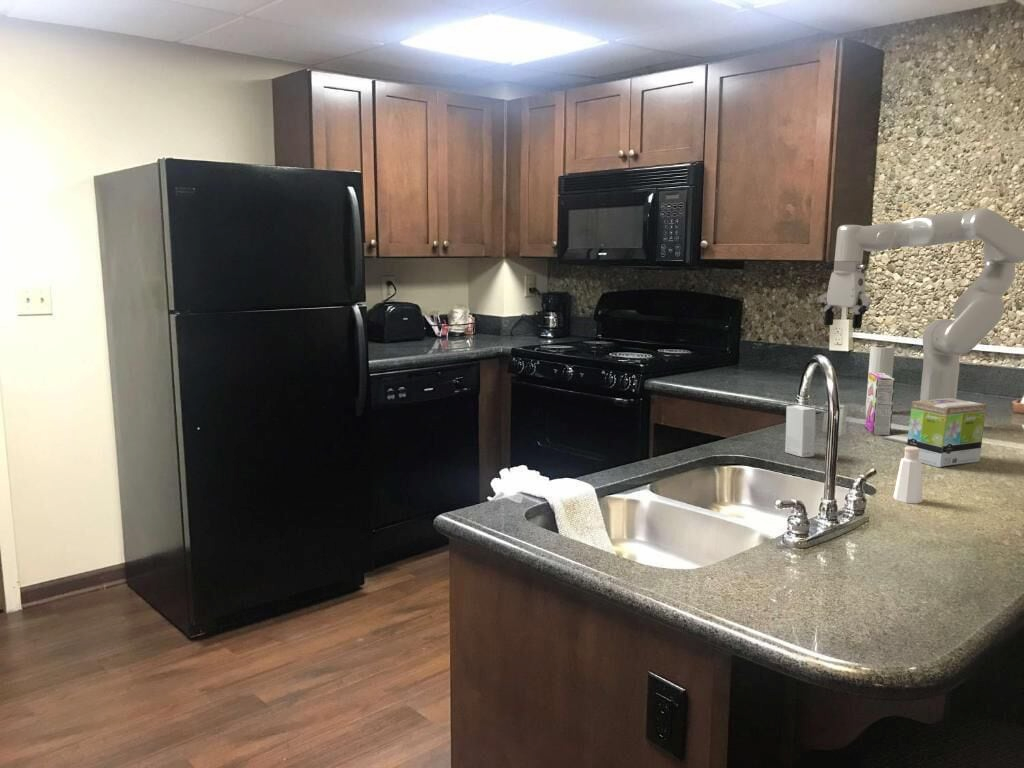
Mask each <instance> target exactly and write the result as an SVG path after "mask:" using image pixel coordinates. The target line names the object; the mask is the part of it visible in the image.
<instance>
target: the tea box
mask: <svg viewBox="0 0 1024 768" xmlns="http://www.w3.org/2000/svg"><path fill="white" fill-rule="evenodd" d="M986 413H987V404H985V403H981V402H976V401H975V402H974V401H968V400H963V399H958V398H956V399H953V398H946V399H934V400H922V401H920V400H913V401H912V402H911V409H910V416H909V422H908V423H909V425H908V431H907V433H908V441H907V444H906V447H907V446H912V447H917V448H919V449H920V451H919V456H918V457H919V458H918V459H919V460H920V461H921V464H924V465H929V466H932V467H935V468H937V467H938V468H942V467H943V468H944V467H948V466H954V465H964V464H972V463H979V462H980V460H981V452H982V444H983V437H984V436H983V435H984V429H985V420H986Z"/></svg>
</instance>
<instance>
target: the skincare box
mask: <svg viewBox="0 0 1024 768" xmlns="http://www.w3.org/2000/svg"><path fill="white" fill-rule="evenodd" d="M785 409H786V410H785V411H786V412H785V414H786V415H785V416H786V417H785V421H786V422H785V446H784V449H785V450H784V451H785V454H786V453H787V454H790V455H794V456H797V457H799V458H800V457H801V458H810V457H814V456H815V441H816V440H815V439H816V438H815V437H816V414H817V413H816V412H817V411H816V408H813V407H808V406H804V405H798V404H796V405H789V406H786V408H785Z"/></svg>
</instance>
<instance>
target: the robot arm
mask: <svg viewBox="0 0 1024 768" xmlns="http://www.w3.org/2000/svg"><path fill="white" fill-rule="evenodd" d="M973 240H976V241H977V240H978V241H979V240H980V241H981V242H982V243H983V246H982V247H983V248H982V254H983V255H982V256H983V259H984V267H983V269H982V272H981V273H980V274H979V276H978V277H977V278H976V279H975V281H973V282H972V284H970V285H969V286H968V288H967V289H966V290H964V292H963V293H962V294H961V295H960V296H958V298H956V300H955V302H954V303H953V306H952V314H953V316H954V317H955V318H954V319H953V320H952V319H947V318H940V319H939V318H938V319H935V320H933V321H930V323H928V324H927V326H925V328H924V330H923V334H922V351H923V362H922V372H921V383H920V395H919V401H922V400H934V399H946V398H953V399H957V393H958V382H959V375H960V356H961V355H965V354H968V353H969V352H971V351H972V350H973V349H975V347H976V346H978V345H979V343H980V342H982V341H983V340H984V339H985V338H986V336H987V335H988V334H990V332H991V331H992V330H993V329H994V328H995V327H996V326H997V325H998V324H999V322H1000V321H1001V320H1002V318H1003V316H1004V313H1005V303H1004V300H1003V299H1002V298H1003V297H1004V296H1005V294H1006V293H1007V292H1008V291H1009V289H1011V288H1012V286H1013V284H1014V281H1015V276H1016V264H1020V263H1022V262H1023V263H1024V230H1023V229H1021V228H1020V227H1018V226H1017V225H1015V224H1014V223H1012V222H1011V221H1010V220H1009V219H1008V218H1005V217H1004V216H1003V215H1001V214H1000V213H998V212H996V211H994V210H992V209H989V208H979V209H969V210H962V211H961V210H960V211H955V212H954V211H953V212H949V213H940V214H933V215H926V216H919V217H915V218H912V219H907V220H901V221H895V222H889V223H888V222H887V223H882V224H874V225H873V224H871V225H859V224H842V225H840V226H838V228H837V231H836V240H835V241H836V242H835V250H834V251H835V252H834V253H835V255H834V264H833V271H832V272H831V274H830V277H829V278H830V279H829V281H828V282H829V283H828V286H827V287H828V288H827V291H826V292H825V293H823V294H821V295H819V297H818V299H819V302H820V306H821V307H822V309H823V312H824V321H823V325H824V326H833V325H834V318H835V316H834V315H835V312H834V309H836V307H840V308H852V310H853V312H854V314H852V326H851V327H852V328H853V329H861V328H862V325H863V315H865V314H866V312H867V311H868V310H869V309H870V306H871V305H872V302H873V299H871V298H870V297H869V296H867V295H866V279H865V274H864V273H863V272H862V270H864V269H865V268H866V265H865V264H863V255H864V251H865V252H883V251H887V250H888V249H895V248H896V249H897V248H907V247H908V248H909V247H914V248H915V247H916V248H917V247H918V248H919V247H920V248H921V247H929V246H935V245H936V246H938V245H943V244H944V245H945V244H952V243H960V242H966V241H967V242H968V241H973Z"/></svg>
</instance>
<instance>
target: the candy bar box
mask: <svg viewBox="0 0 1024 768" xmlns="http://www.w3.org/2000/svg"><path fill="white" fill-rule="evenodd" d="M895 382H896V381H895V378H893V376H892V377H890V376H889V375H887V374H886V373H869V372H868V375H867V385H868V387H866V388H867V389H866V398H867V403H866V402H865V421H864V428H865V429H866V430H867V431H868V430H869V431H868V432H869V433H870V434H872V436H876V435H882V436H881V437H886V436H891V431H892V418H893V409H894V408H893V407H894V406H893V405H894V394H895V393H894V391H895Z"/></svg>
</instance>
